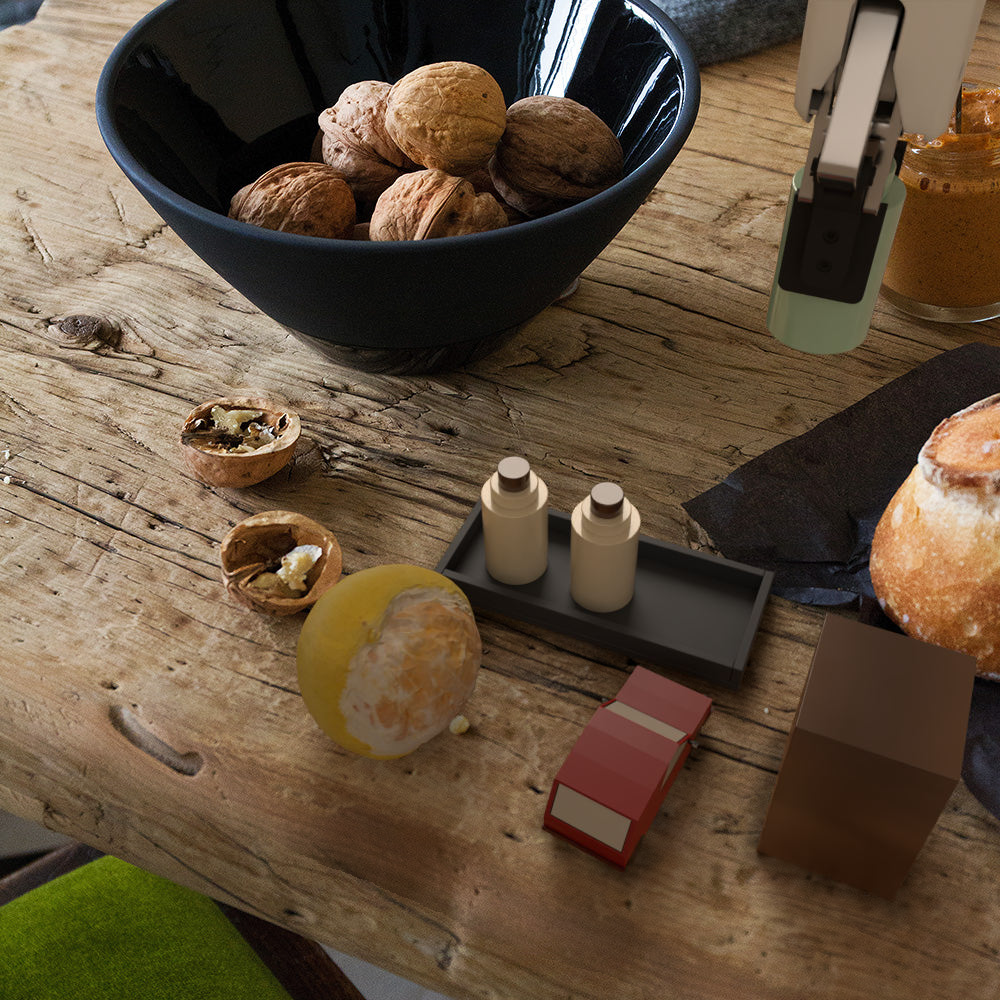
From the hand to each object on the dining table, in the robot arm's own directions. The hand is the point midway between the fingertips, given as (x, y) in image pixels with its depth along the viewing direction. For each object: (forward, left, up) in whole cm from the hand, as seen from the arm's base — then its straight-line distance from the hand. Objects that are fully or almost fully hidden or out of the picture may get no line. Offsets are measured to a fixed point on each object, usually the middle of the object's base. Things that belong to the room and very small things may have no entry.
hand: (832, 255), depth 41 cm
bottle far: (+16, -4, -29) cm, 33 cm away
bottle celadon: (0, 0, -3) cm, 3 cm away
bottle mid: (+10, -4, -29) cm, 31 cm away
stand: (-7, +6, -29) cm, 31 cm away
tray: (+10, -4, -29) cm, 31 cm away
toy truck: (+4, +8, -30) cm, 31 cm away
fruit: (+18, +9, -30) cm, 36 cm away
